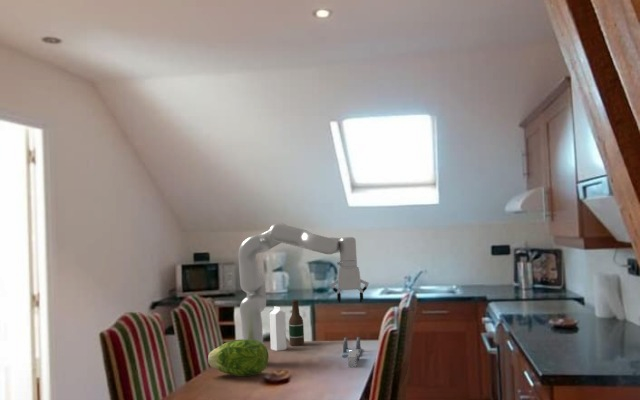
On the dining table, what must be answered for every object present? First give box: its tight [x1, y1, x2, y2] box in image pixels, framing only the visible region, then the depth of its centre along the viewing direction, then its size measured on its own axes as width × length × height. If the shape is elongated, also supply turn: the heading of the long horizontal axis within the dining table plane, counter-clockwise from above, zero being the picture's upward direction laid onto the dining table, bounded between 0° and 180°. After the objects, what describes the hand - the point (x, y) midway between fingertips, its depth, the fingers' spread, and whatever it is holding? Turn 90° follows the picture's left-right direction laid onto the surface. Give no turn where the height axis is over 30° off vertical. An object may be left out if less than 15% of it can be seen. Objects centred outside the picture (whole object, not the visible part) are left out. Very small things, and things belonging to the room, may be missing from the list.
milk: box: [269, 306, 288, 352], centre depth 305 cm, size 6×6×22 cm
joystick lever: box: [347, 349, 360, 368], centre depth 268 cm, size 17×5×4 cm, turn 173°
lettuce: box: [207, 338, 269, 377], centre depth 252 cm, size 15×27×16 cm, turn 81°
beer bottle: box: [288, 299, 305, 347], centre depth 315 cm, size 8×8×24 cm
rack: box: [342, 336, 362, 358], centre depth 288 cm, size 18×8×7 cm, turn 173°
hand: (350, 302), depth 267 cm, fingers open, 9 cm apart
